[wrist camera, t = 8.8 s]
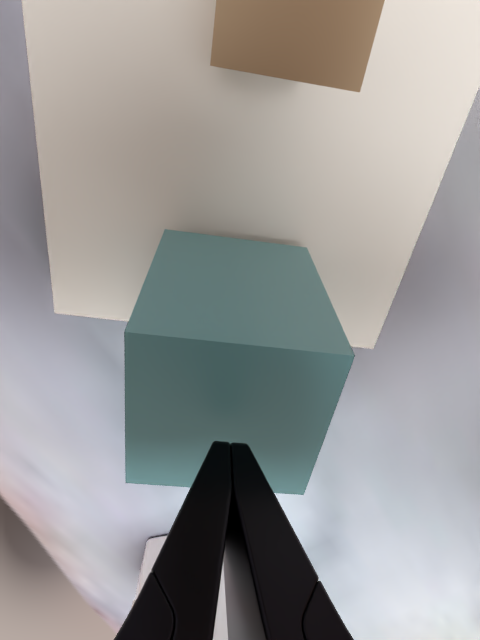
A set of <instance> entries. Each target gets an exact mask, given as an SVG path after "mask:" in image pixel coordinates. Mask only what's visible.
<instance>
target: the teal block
mask: <svg viewBox="0 0 480 640" xmlns="http://www.w3.org/2000/svg"><path fill="white" fill-rule="evenodd" d="M124 341H125V467H126V483H135V484H150V485H164V486H179V487H191V486H192V484H193V482H194V480H195V478H196V476H197V474H198V471H199V469H200V467H201V465H202V463H203V461H204V459H205V457H206V455H207V453H208V451H209V449H210V447H211V444H212V443H213V442H214V441H225V442H229V443H230V444H231V443H233V442H237V443H246V444H248V445H249V447H250V449H251V450H252V452H253V454H254V456H255V458H256V460H257V462H258V464H259V466H260V467H261V469H262V471H263V473H264V475H265V477H266V479H267V481H268V483H269V485H270V486H271V488H272V490H273V492H274V493H284V494H298V495H304V492H305V490H306V487H307V484H308V482H309V479H310V476H311V473H312V471H313V468H314V465H315V463H316V460H317V457H318V454H319V452H320V449H321V446H322V444H323V441H324V438H325V435H326V433H327V430H328V427H329V425H330V422H331V419H332V416H333V414H334V411H335V408H336V406H337V403H338V400H339V397H340V395H341V392H342V389H343V387H344V384H345V381H346V378H347V376H348V373H349V370H350V368H351V365H352V362H353V359H354V357H355V355H354V353H353V350H352V348H351V346H350V344H349V341H348V339H347V337H346V335H345V332H344V330H343V328H342V326H341V323H340V321H339V319H338V317H337V314H336V312H335V310H334V308H333V305H332V303H331V301H330V299H329V296H328V294H327V292H326V290H325V287H324V285H323V283H322V281H321V278H320V276H319V274H318V272H317V269H316V267H315V265H314V263H313V260H312V258H311V256H310V254H309V251H308V249H307V247H299V246H291V245H284V244H276V243H268V242H260V241H253V240H245V239H237V238H230V237H222V236H214V235H206V234H199V233H191V232H183V231H175V230H168V229H165V230H164V232H163V235H162V238H161V240H160V243H159V245H158V248H157V250H156V253H155V255H154V258H153V260H152V263H151V266H150V268H149V271H148V273H147V276H146V278H145V281H144V283H143V286H142V288H141V291H140V294H139V296H138V299H137V301H136V304H135V306H134V309H133V311H132V314H131V317H130V319H129V322H128V324H127V327H126V329H125V332H124Z"/></svg>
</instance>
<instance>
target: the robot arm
mask: <svg viewBox="0 0 480 640" xmlns="http://www.w3.org/2000/svg"><path fill="white" fill-rule="evenodd" d="M222 566H224V581H225V597H226V613H227V629H228V640H354V639H353V638H352V636H351V634H350V633H349V631H348V630H347V628H346V626H345V625H344V623H343V621H342V619H341V618H340V616H339V614H338V612H337V610H336V609H335V607H334V605H333V603H332V602H331V600H330V598H329V596H328V594H327V592H326V590H325V588H324V586H323V585H322V583H321V581H318V575H317V574H316V572H315V570H314V568H313V566H312V564H311V562H310V560H309V558H308V556H307V555H306V553H305V551H304V549H303V547H302V545H301V543H300V541H299V539H298V538H297V536H296V534H295V532H294V530H293V528H292V526H291V524H290V522H289V520H288V519H287V517H286V515H285V513H284V511H283V509H282V507H281V505H280V503H279V502H278V500H277V498H276V496H275V494H274V492H273V490H272V488H271V486H270V485H269V483H268V481H267V479H266V477H265V475H264V473H263V471H262V469H261V467H260V466H259V464H258V462H257V460H256V458H255V456H254V454H253V452H252V450H251V449H250V447H249V445H248V444H246V443H237V442H233V443H231V444H230V443H229V442H225V441H214V442H213V443H212V444H211V447H210V449H209V451H208V453H207V455H206V457H205V459H204V461H203V463H202V465H201V467H200V469H199V471H198V474H197V476H196V478H195V480H194V482H193V484H192V486H191V488H190V490H189V492H188V494H187V496H186V498H185V501H184V503H183V505H182V507H181V509H180V511H179V513H178V515H177V517H176V519H175V521H174V523H173V525H172V528H171V530H170V532H169V534H168V536H167V538H166V540H165V542H164V544H163V546H162V548H161V550H160V552H159V554H158V557H157V559H156V561H155V563H154V565H153V567H152V569H151V572H150V573H149V575H148V577H147V579H146V581H145V583H144V585H143V587H142V589H141V591H140V593H139V595H138V597H137V599H136V601H135V603H134V605H133V607H132V609H131V611H130V612H129V614H128V616H127V618H126V620H125V622H124V623H123V625H122V627H121V628H120V630H119V632H118V633H117V635H116V637H115V639H114V640H213V635H214V627H215V619H216V612H217V604H218V597H219V589H220V581H221V574H222ZM317 581H318V582H317Z"/></svg>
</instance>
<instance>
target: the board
mask: <svg viewBox="0 0 480 640" xmlns="http://www.w3.org/2000/svg"><path fill="white" fill-rule="evenodd" d="M215 8H216V0H22V9H23V19H24V28H25V38H26V47H27V57H28V66H29V76H30V85H31V95H32V104H33V114H34V123H35V132H36V142H37V151H38V161H39V170H40V180H41V189H42V199H43V208H44V218H45V227H46V237H47V246H48V256H49V265H50V275H51V284H52V294H53V303H54V313H56V314H65V315H74V316H83V317H92V318H101V319H109V320H118V321H127V322H129V319H130V317H131V314H132V311H133V309H134V306H135V304H136V301H137V299H138V296H139V294H140V291H141V288H142V286H143V283H144V281H145V278H146V276H147V273H148V271H149V268H150V266H151V263H152V260H153V258H154V255H155V253H156V250H157V248H158V245H159V243H160V240H161V238H162V235H163V232H164V230H165V229H168V230H175V231H183V232H191V233H199V234H206V235H214V236H222V237H230V238H237V239H245V240H253V241H260V242H268V243H276V244H284V245H291V246H299V247H307V249H308V251H309V254H310V256H311V258H312V260H313V263H314V265H315V267H316V269H317V272H318V274H319V276H320V278H321V281H322V283H323V285H324V287H325V290H326V292H327V294H328V296H329V299H330V301H331V303H332V305H333V308H334V310H335V312H336V314H337V317H338V319H339V321H340V323H341V326H342V328H343V330H344V332H345V335H346V337H347V339H348V341H349V344H350V346H351V347H359V348H368V349H374V346H375V344H376V341H377V339H378V337H379V334H380V332H381V329H382V327H383V324H384V322H385V319H386V317H387V314H388V312H389V309H390V307H391V304H392V302H393V299H394V297H395V294H396V292H397V289H398V287H399V284H400V282H401V280H402V277H403V275H404V272H405V270H406V267H407V265H408V262H409V260H410V257H411V255H412V252H413V250H414V247H415V245H416V242H417V240H418V237H419V235H420V232H421V230H422V228H423V225H424V223H425V220H426V218H427V215H428V213H429V210H430V208H431V205H432V203H433V200H434V198H435V195H436V193H437V190H438V188H439V185H440V183H441V180H442V178H443V175H444V173H445V171H446V168H447V166H448V163H449V161H450V158H451V156H452V153H453V151H454V148H455V146H456V143H457V141H458V138H459V136H460V133H461V131H462V128H463V126H464V123H465V121H466V118H467V116H468V114H469V111H470V109H471V106H472V104H473V101H474V99H475V96H476V94H477V91H478V89H479V86H480V0H385V1H384V5H383V9H382V12H381V16H380V20H379V23H378V27H377V31H376V35H375V38H374V42H373V46H372V49H371V53H370V57H369V60H368V64H367V68H366V72H365V75H364V79H363V83H362V86H361V90H360V92H354V91H348V90H343V89H337V88H331V87H326V86H320V85H315V84H309V83H303V82H298V81H292V80H287V79H281V78H275V77H270V76H264V75H259V74H253V73H248V72H242V71H236V70H231V69H225V68H220V67H215V66H210V61H211V50H212V40H213V29H214V19H215Z"/></svg>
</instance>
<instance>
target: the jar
mask: <svg viewBox="0 0 480 640" xmlns="http://www.w3.org/2000/svg"><path fill="white" fill-rule="evenodd" d="M167 536H168V535H166V536H161V537H155V538H150V539H149V540H148V541H147V543H146V547H145V551H144V556H143V560H142V564H141V568H140V573H139V578H138V583H137V589H136V595H135V600H133V603H132V607H133V605H134V603H135V601H136V599H137V597H138V595H139V593H140V591H141V589H142V587H143V585H144V583H145V581H146V579H147V577H148V575H149V573H150V572H151V569H152V567H153V565H154V563H155V561H156V559H157V557H158V554H159V552H160V550H161V548H162V546H163V544H164V542H165V540H166V538H167ZM131 609H132V608H131ZM213 640H228V629H227V613H226V597H225V581H224V566H222V574H221V581H220V589H219V597H218V604H217V612H216V619H215V627H214V635H213Z"/></svg>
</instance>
